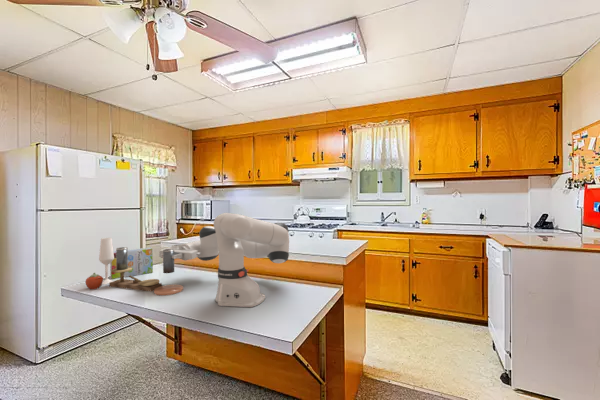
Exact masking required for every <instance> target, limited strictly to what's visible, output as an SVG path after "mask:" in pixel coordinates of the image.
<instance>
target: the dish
mask: <svg viewBox="0 0 600 400" xmlns="http://www.w3.org/2000/svg"><path fill="white" fill-rule="evenodd" d="M183 291H184V286H183V285H181V284H178V283H177V284H176V283H175V284H173V283H172V284H166V285H162V286H160V287H158V288H156V289H155V290H154V291H153V294H154V295H156V296H172V295H175V294H176V295H177V294H179V293H180V292H183Z"/></svg>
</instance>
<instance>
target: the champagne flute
mask: <svg viewBox="0 0 600 400" xmlns="http://www.w3.org/2000/svg"><path fill="white" fill-rule="evenodd" d="M113 251H114V247H113V238H112V237H102V238H101V239H100V246H99V255H98V256H99V257H98V261H99V262H100V263H101V264H103V265H104V267H105V268H104V269H105V270H104V273H105V278H104V279H103V283H102V285H108V284H107V283H110V282H113V281H114V280H113V279H109V265H110V263H111V262H112V261H113V259H114V253H113Z"/></svg>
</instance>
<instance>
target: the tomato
mask: <svg viewBox="0 0 600 400" xmlns="http://www.w3.org/2000/svg"><path fill="white" fill-rule="evenodd" d="M103 281H104V277H103V276H102V275H99V274H97V273H96V272H93V273H92V274H91V275H89V276H88V277H87V278H86V279H85V281H84V282H85V285H86V287H87V288H88V289H89V290H98V289H100V287H101V286H102V285H103V284H102V283H103ZM97 288H98V289H97Z"/></svg>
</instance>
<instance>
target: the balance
mask: <svg viewBox="0 0 600 400" xmlns="http://www.w3.org/2000/svg"><path fill="white" fill-rule="evenodd" d="M131 270H132V267H128V269H126V270H116V268H115V269H113V270H112V272H113V273H120V278H118V279H117V280H112V281H113V282H110V283H109V284H108V285H109V287H110V286H111V287H112V288H120V289H126V288H127V289H128V290H134V291H143V292H154V290H155V289H156V288H158V287H160V286H163V283H162V282H160V280H159V279H158V278H150V279H145V280H140V279H139V278H137V277H134V276H131V275H130V276H128V278H129V279H127V278H125V277H124V272H128V271H131ZM127 289H126V290H127Z"/></svg>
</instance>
